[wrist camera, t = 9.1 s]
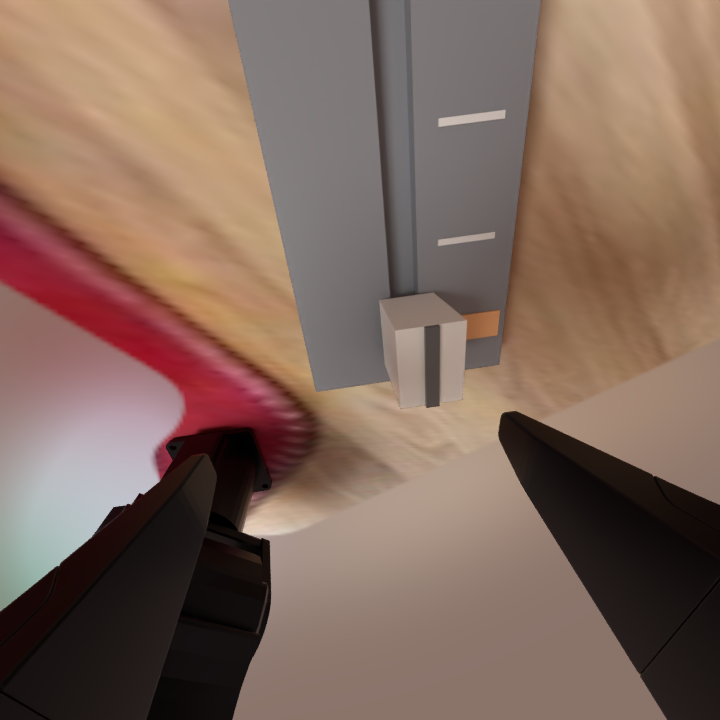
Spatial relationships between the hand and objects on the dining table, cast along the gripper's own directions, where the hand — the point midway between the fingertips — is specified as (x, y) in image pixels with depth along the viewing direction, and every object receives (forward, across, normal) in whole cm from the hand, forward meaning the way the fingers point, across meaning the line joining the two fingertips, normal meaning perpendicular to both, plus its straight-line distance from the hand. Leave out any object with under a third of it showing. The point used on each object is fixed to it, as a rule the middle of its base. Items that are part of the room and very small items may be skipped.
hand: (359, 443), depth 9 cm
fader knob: (+10, -4, 0) cm, 11 cm away
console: (+12, -4, -6) cm, 14 cm away
